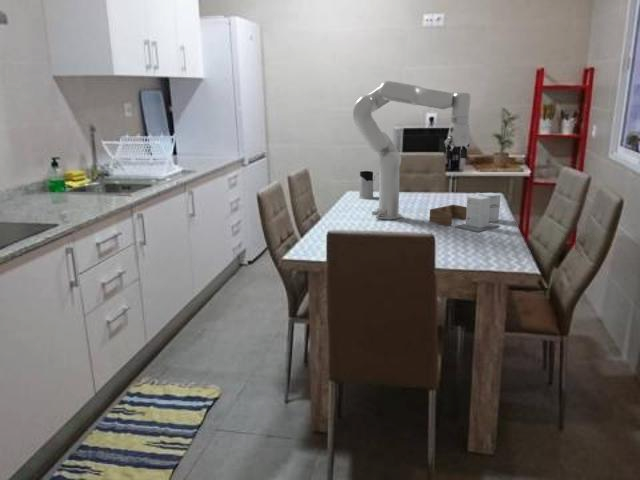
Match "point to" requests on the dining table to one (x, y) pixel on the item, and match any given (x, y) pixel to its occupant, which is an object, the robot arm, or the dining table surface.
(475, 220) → the small box
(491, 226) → the mat
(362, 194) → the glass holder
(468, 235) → the dining table surface
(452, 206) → the cubby
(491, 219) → the supplement box
